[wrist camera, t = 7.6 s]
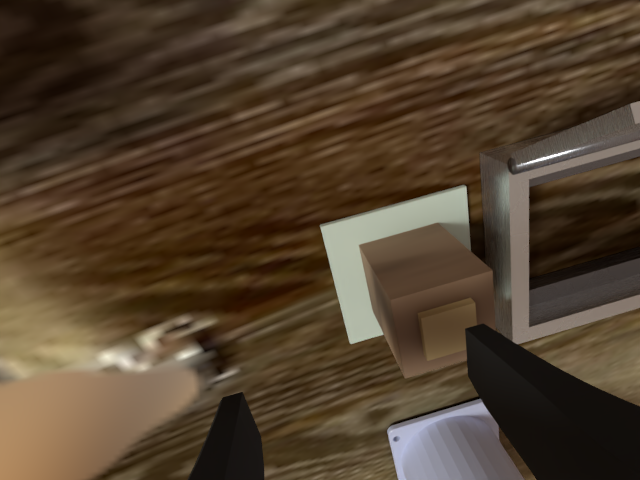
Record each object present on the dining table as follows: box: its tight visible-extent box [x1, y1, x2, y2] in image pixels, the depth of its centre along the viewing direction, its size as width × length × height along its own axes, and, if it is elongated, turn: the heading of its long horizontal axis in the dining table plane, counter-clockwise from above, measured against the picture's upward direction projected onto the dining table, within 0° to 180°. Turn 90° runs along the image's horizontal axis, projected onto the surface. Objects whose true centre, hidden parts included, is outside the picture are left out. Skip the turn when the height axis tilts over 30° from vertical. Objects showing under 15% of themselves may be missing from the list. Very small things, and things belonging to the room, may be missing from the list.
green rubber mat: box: [320, 185, 471, 344], centre depth 23 cm, size 8×8×1 cm
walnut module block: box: [359, 223, 496, 378], centre depth 20 cm, size 4×4×6 cm
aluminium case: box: [480, 127, 640, 344], centre depth 22 cm, size 11×15×3 cm
